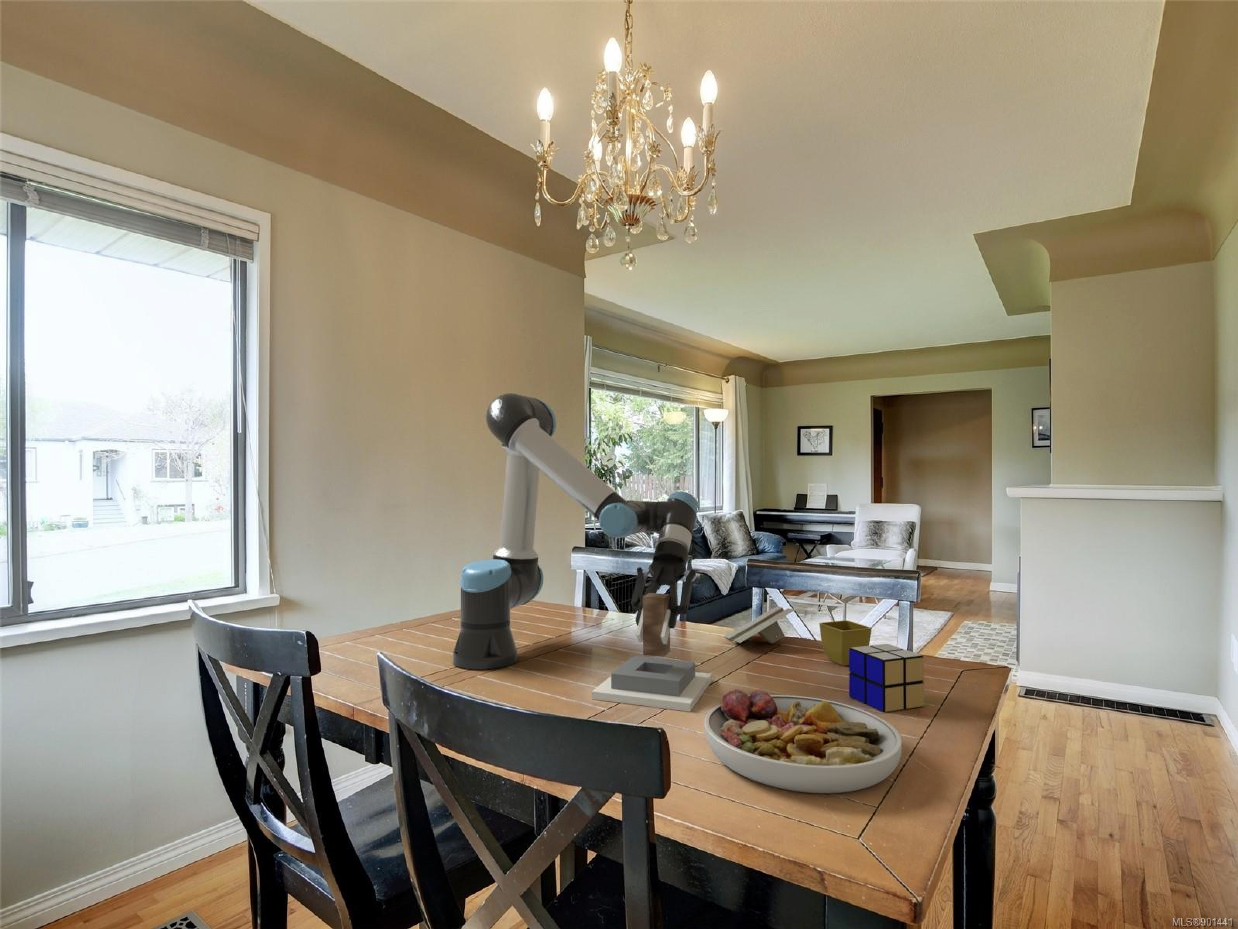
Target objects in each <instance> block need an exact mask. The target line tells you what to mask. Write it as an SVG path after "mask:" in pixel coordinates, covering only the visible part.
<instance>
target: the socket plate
mask: <svg viewBox="0 0 1238 929" xmlns="http://www.w3.org/2000/svg"><path fill="white" fill-rule="evenodd" d="M712 681H713V674H712V673H709V672H700V671H699V672H697V671H696V662H695V661H686V660H678V659H676V660H675V659H665V658H655V657H649V656H637V655H633V656H632V657H629V659H628V660H626V661H625V662H624V663H623V664H621V665H620V666H619V667H618V668H616V669H615V670H614V671H612V672H611V674H610V676H609V677H608V678H607V679H605V680H604V681H603V682H601V683H600V684H599V685H598V686H597V687H596V688H594V689H593V690H592V691H591V700H597V701H605V702H612V703H621V704H628V705H634V706H635V705H636V706H644V707H651V708H659V709H668V710H674V711H675V710H676V711H683V712H689V713H690V712H691V711H692V709H694V707H695V706H696V704H697V703H698V701H699V700H700V699H701V697H702V696H703V694H704V693H705V691H706V690H707V688H708V687H709V686H710V684H711V683H712Z"/></svg>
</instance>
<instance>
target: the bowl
mask: <svg viewBox="0 0 1238 929" xmlns="http://www.w3.org/2000/svg"><path fill="white" fill-rule="evenodd" d="M749 694H750V695H749ZM749 694H747V692H744V691H743V690H739V689H733V690H731V691H728V692H727V693H726V694H725V695H723V696H722V697H721V699H720V701H721V702H720V704H717V705H716V706H715V707H713V708H712V709H710V710H709V711H708V712H707V713H706V716H705V718H704V735H705V739H706V742H707V744H708V746H709V749H711V751H712V752H713V753H714V755H715V757H717V758H718V760H719V761H720V762H722V763H723V764H724V765H725V766H727V767H728V768H729V769H731V770H732V771H734V772H736V773H737V774H739V775H741V776H742V777H746V778H747V779H749V780H752V781H754V782H757V783H760V784H762V785H766V786H769V787H773V788H778V789H782V790H786V791H787V790H788V791H793V792H799V793H807V794H808V793H809V794H811V793H812V794H840V793H849V792H856V791H859V790H863V789H867V788H869V787H872V786H875V785H876V784H879V783H880V782H882V781H884V780H885V779H886V778H888V777H889V776H890V775H891V774H892V773H893V772H894V771H895V769H896V768H897V766H898V765H899V762H900V760H901V757H902V751H903V741H902V737H901V735H900V733H899V732H898V730H897V728H895V727H894V726H893V725H891V723H889V722H888V721H887V720H885V719H883V718H882V717H879V716H878V715H875V714H874V713H871V712H868V711H866V710H863V709H861V708H858V707H856V706H853V705H851V704H850V705H848V704H846V703H842V702H838V701H833V700H829V699H822V698H818V697H817V698H816V697H809V696H800V695H787V694H785V695H784V694H783V695H782V694H780V695H779V694H770V693H768V692H767V691H764V690H754V691H752V692H751V693H749Z"/></svg>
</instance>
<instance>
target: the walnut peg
mask: <svg viewBox="0 0 1238 929" xmlns="http://www.w3.org/2000/svg"><path fill="white" fill-rule="evenodd" d="M642 597H643V642H642V655H643V656H647V657H649V656H650V657H661V658H665V657H666V656H667V655H668V654H669V653H670V652H671V631H670V632H669V637H668V641H667V644H663V642H662V639H661V633H662V628H663V624H664V620H665V615H666V611H667V609H668V610H671V607H670V606H671V603H670V593H657V592H656V593H648V594H647V595H645V596H643V595H642Z"/></svg>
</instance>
